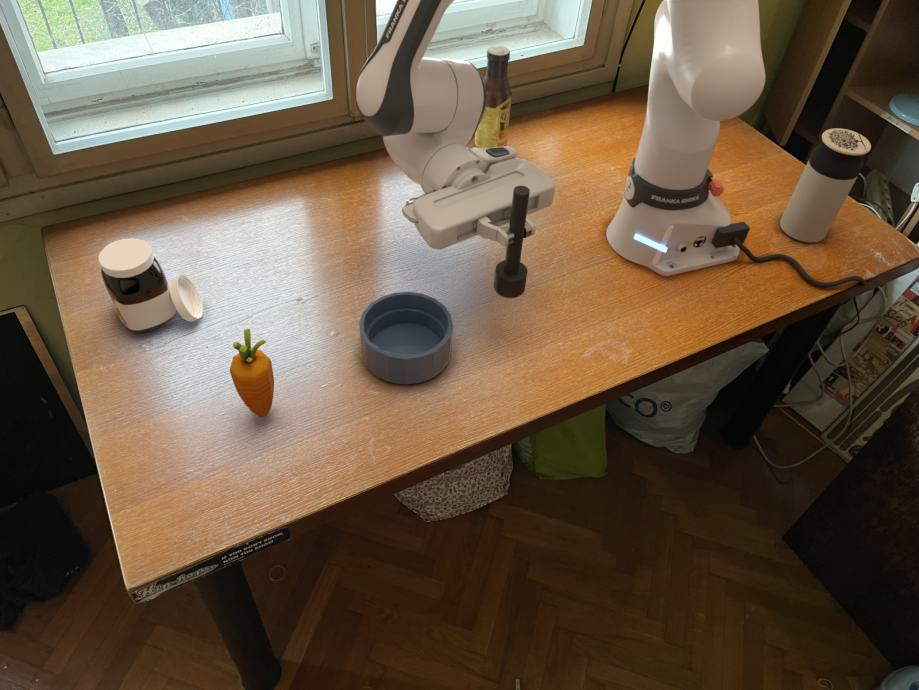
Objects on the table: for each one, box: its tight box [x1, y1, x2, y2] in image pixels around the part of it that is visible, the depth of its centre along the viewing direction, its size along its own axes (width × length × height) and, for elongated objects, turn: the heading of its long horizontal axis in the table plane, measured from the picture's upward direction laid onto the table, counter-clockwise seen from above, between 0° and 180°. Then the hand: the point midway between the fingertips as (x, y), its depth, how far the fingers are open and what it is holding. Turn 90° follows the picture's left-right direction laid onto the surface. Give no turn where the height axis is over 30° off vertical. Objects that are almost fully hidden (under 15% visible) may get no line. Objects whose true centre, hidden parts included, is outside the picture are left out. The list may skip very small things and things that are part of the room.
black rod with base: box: [492, 186, 530, 299], centre depth 94 cm, size 4×4×16 cm
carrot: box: [229, 328, 275, 418], centre depth 89 cm, size 5×5×15 cm
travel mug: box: [779, 127, 872, 243], centre depth 121 cm, size 8×8×18 cm
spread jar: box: [98, 237, 204, 333], centre depth 102 cm, size 12×11×12 cm
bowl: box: [358, 291, 454, 385], centre depth 102 cm, size 13×13×6 cm
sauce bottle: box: [474, 45, 513, 148], centre depth 133 cm, size 7×6×20 cm
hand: (520, 236), depth 92 cm, fingers closed on black rod with base, 2 cm apart
